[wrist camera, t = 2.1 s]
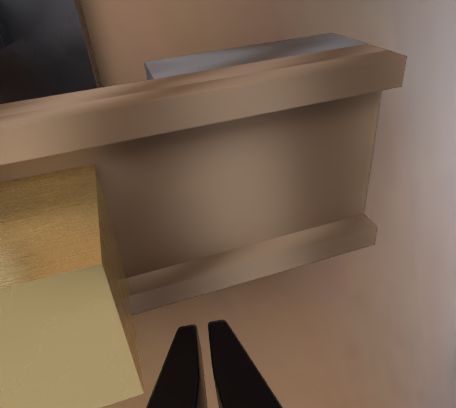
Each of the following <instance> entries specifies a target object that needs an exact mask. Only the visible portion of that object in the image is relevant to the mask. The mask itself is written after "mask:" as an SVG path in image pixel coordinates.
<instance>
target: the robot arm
mask: <svg viewBox="0 0 456 408" xmlns="http://www.w3.org/2000/svg"><path fill="white" fill-rule="evenodd" d="M208 332H209V341H210V351H211V360H212V368H213V375H214V381H215V387H216V393H217V399H218V405H219V408H283V407H282V406H281V404H280V403H279V401H278V400H277V398H276V397H275V395H274V394H273V392H272V391H271V389H270V388H269V386H268V384H267V383H266V381H265V380H264V378H263V377H262V375H261V374H260V372H259V371H258V369H257V368H256V366H255V365H254V363H253V361H252V360H251V358H250V357H249V355H248V354H247V352H246V351H245V349H244V348H243V346H242V345H241V343H240V342H239V340H238V338H237V337H236V335H235V334H234V332H233V331H232V329H231V328H230V326H229V325H228V323H227V322H226V321H225V320H218V321H212V322H209V323H208ZM146 408H208V407H207V398H206V389H205V380H204V370H203V361H202V353H201V346H200V341H199V335H198V330H197V326H196V325H187V326H181V327H179V328H178V330H177V332H176V335H175V337H174V340H173V342H172V344H171V347H170V349H169V352H168V354H167V357H166V359H165V362H164V364H163V367H162V369H161V372H160V374H159V377H158V379H157V382H156V384H155V387H154V389H153V392H152V394H151V397H150V399H149V402H148V404H147V407H146Z"/></svg>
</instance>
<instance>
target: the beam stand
mask: <svg viewBox="0 0 456 408" xmlns="http://www.w3.org/2000/svg"><path fill="white" fill-rule="evenodd" d="M96 88H102V86H101V82H100V78H99V75H98V71H97V67H96V63H95V59H94V55H93V51H92V47H91V44H90V40H89V36H88V32H87V28H86V24H85V20H84V16H83V13H82V9H81V5H80V1H79V0H0V104H5V103H11V102H17V101H23V100H29V99H35V98H42V97H48V96H54V95H60V94H66V93H72V92H78V91H84V90H90V89H96Z"/></svg>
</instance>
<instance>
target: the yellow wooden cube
mask: <svg viewBox="0 0 456 408" xmlns="http://www.w3.org/2000/svg"><path fill="white" fill-rule="evenodd" d="M141 394H144V391H143V384H142V377H141V371H140V364H139V357H138V350H137V343H136V337H135V330H134V323H133V316H132V309H131V302H130V296H129V289H128V282H127V276H126V273H125V269H124V266H123V262H122V259H121V255H120V252H119V248H118V245H117V241H116V238H115V234H114V231H113V227H112V223H111V220H110V216H109V213H108V209H107V206H106V202H105V199H104V195H103V192H102V188H101V185H100V181H99V178H98V174H97V170H96V167H95V164H92V165H86V166H81V167H76V168H71V169H65V170H60V171H55V172H50V173H45V174H39V175H34V176H29V177H24V178H18V179H13V180H8V181H3V182H0V408H101V407H104V406H107V405H111V404H114V403H117V402H120V401H123V400H126V399H129V398H132V397H135V396H138V395H141Z"/></svg>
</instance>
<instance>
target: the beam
mask: <svg viewBox="0 0 456 408" xmlns="http://www.w3.org/2000/svg"><path fill="white" fill-rule="evenodd" d="M406 58H407V56H405V55H401V54H398V53H395V52H392V51H389V50H385V49H382V48H379V47H376V46H373V45H369V44H366V43H363V42H360V41H357V40H353V39H350V38H347V37H344V36H341V35H337V34H334V33H328V34H322V35H316V36H309V37H303V38H296V39H290V40H283V41H277V42H270V43H264V44H257V45H251V46H245V47H238V48H232V49H225V50H219V51H212V52H206V53H199V54H193V55H186V56H180V57H173V58H167V59H161V60H154V61H148V62H144V64H145V69H146V75H147V80H145V81H139V82H132V83H126V84H120V85H114V86H108V87H102V88H96V89H90V90H84V91H78V92H72V93H66V94H60V95H54V96H48V97H42V98H35V99H29V100H23V101H17V102H11V103H5V104H0V182H3V181H8V180H13V179H18V178H24V177H29V176H34V175H39V174H45V173H50V172H55V171H60V170H65V169H71V168H76V167H81V166H86V165H92V164H95V167H96V170H97V174H98V178H99V181H100V185H101V188H102V192H103V195H104V199H105V202H106V206H107V209H108V213H109V216H110V220H111V223H112V227H113V231H114V234H115V238H116V241H117V245H118V248H119V252H120V255H121V259H122V262H123V266H124V269H125V273H126V276H127V282H128V289H129V296H130V302H131V309H132V315H134V314H138V313H141V312H145V311H148V310H152V309H155V308H158V307H162V306H165V305H169V304H172V303H176V302H179V301H182V300H186V299H189V298H193V297H196V296H200V295H203V294H206V293H210V292H213V291H217V290H220V289H224V288H227V287H230V286H234V285H237V284H241V283H244V282H248V281H251V280H255V279H258V278H261V277H265V276H268V275H272V274H275V273H279V272H282V271H285V270H289V269H292V268H296V267H299V266H303V265H306V264H309V263H313V262H316V261H320V260H323V259H327V258H330V257H334V256H337V255H340V254H344V253H347V252H351V251H354V250H358V249H361V248H364V247H368V246H371V245H375V239H376V233H377V227H378V226H377V225H375V224H374V223H373V222H372V221H371V220H370V219H369V218H368V217H367V216H366V215H364V210H365V203H366V196H367V189H368V182H369V175H370V168H371V161H372V154H373V148H374V141H375V134H376V127H377V120H378V113H379V106H380V99H381V92H382V90H387V89H392V88H397V87H402V82H403V76H404V70H405V64H406Z"/></svg>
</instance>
